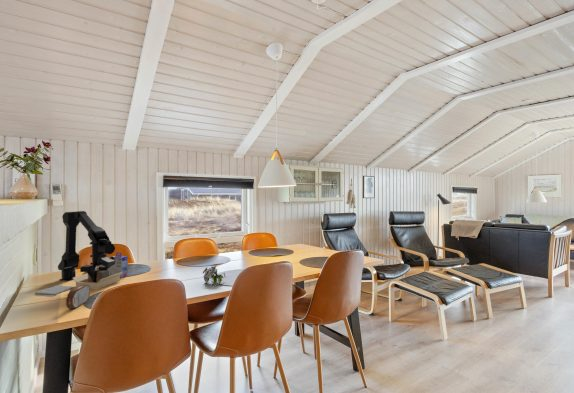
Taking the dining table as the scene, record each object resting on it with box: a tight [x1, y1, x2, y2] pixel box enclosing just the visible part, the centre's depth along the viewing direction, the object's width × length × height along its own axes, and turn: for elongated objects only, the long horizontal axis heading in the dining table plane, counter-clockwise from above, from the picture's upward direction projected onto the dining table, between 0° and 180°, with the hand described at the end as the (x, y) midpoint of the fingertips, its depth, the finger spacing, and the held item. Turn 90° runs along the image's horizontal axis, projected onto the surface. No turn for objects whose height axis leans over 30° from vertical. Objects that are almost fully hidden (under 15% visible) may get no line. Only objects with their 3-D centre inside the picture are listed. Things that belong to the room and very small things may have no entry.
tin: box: [65, 284, 91, 309], centre depth 144 cm, size 15×3×8 cm, turn 5°
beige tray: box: [72, 272, 123, 290], centre depth 176 cm, size 18×16×6 cm
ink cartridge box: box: [107, 252, 129, 279], centre depth 191 cm, size 10×6×14 cm, turn 78°
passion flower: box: [202, 264, 226, 286], centre depth 177 cm, size 11×11×12 cm
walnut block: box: [88, 269, 109, 283], centre depth 176 cm, size 9×5×7 cm, turn 78°
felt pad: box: [34, 285, 76, 297], centre depth 165 cm, size 12×12×1 cm
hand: (98, 281), depth 176 cm, fingers closed on walnut block, 5 cm apart
